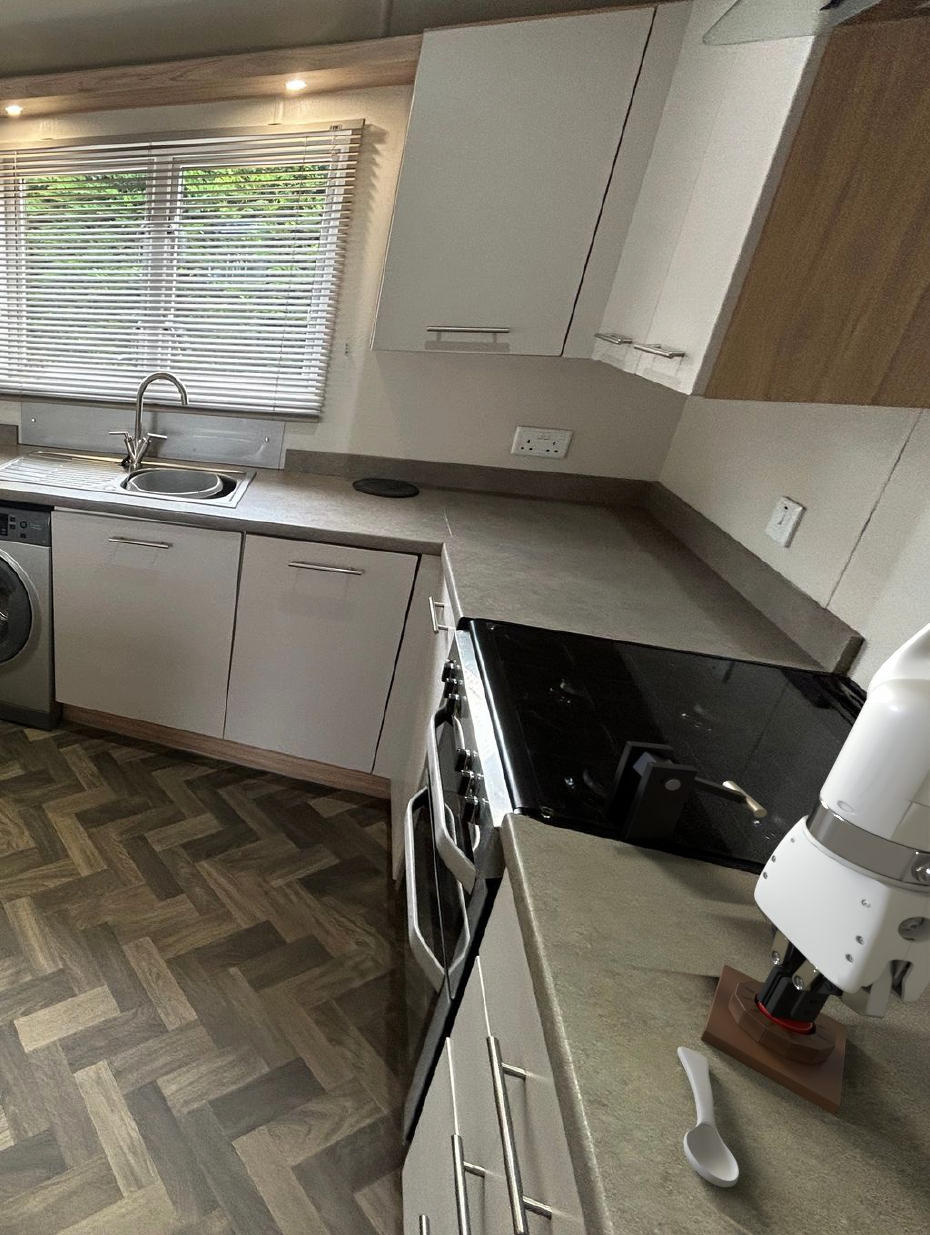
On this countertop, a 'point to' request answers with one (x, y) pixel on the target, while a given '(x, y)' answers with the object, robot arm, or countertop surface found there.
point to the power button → (787, 1022)
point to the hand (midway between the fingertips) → (783, 1011)
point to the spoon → (706, 1127)
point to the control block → (776, 1042)
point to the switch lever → (709, 786)
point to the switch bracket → (648, 794)
